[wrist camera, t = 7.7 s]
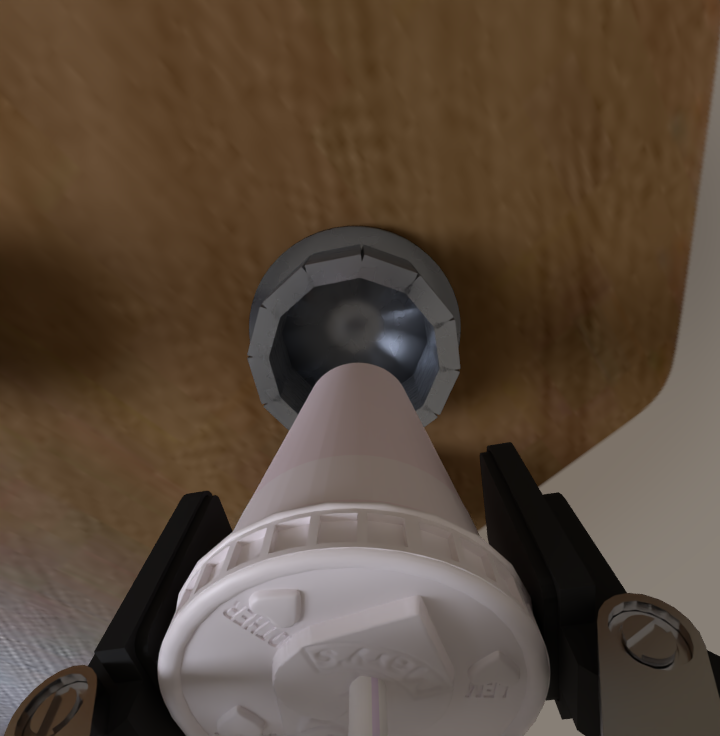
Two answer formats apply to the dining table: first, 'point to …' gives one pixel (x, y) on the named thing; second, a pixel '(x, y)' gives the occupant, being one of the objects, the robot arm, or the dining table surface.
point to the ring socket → (354, 319)
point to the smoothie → (354, 592)
